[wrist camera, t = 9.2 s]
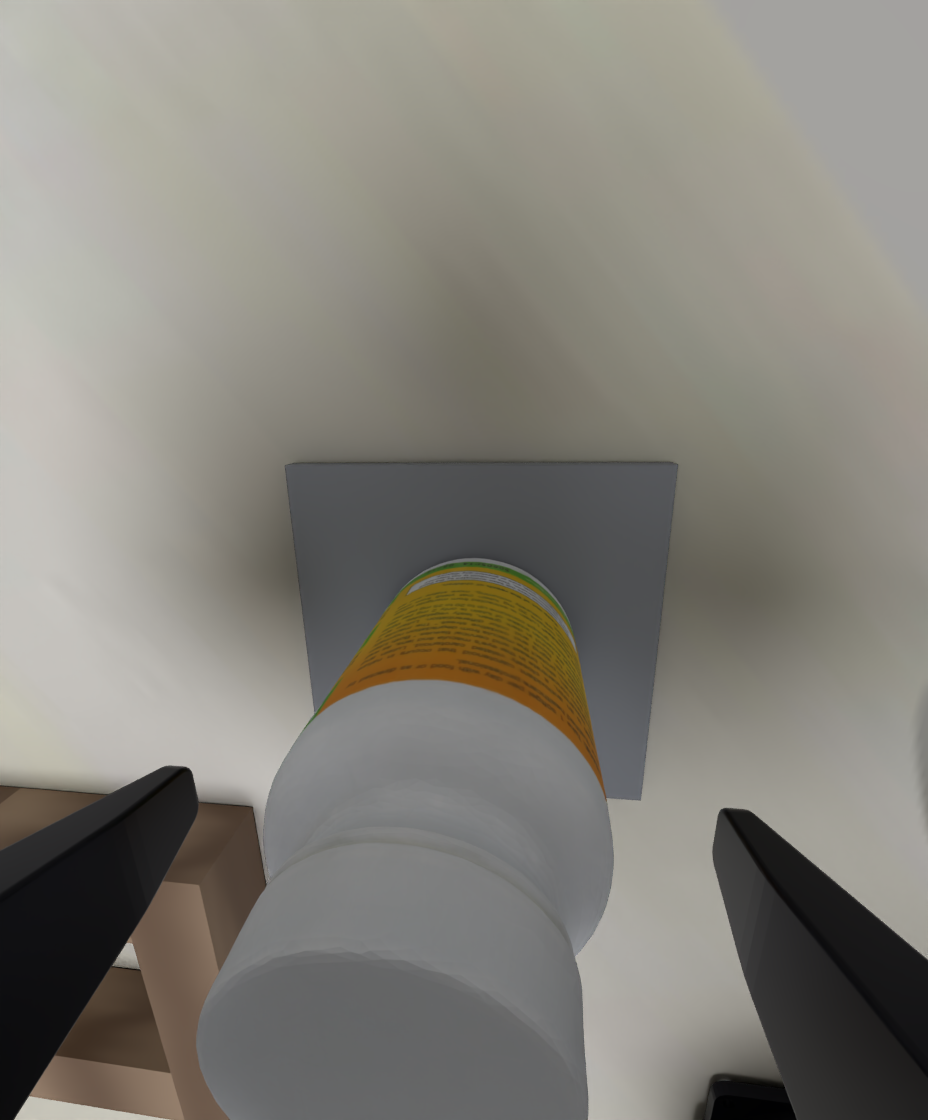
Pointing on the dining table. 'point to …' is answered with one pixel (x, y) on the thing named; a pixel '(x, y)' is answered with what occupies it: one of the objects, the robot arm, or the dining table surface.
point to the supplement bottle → (426, 876)
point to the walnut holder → (153, 966)
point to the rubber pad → (506, 536)
